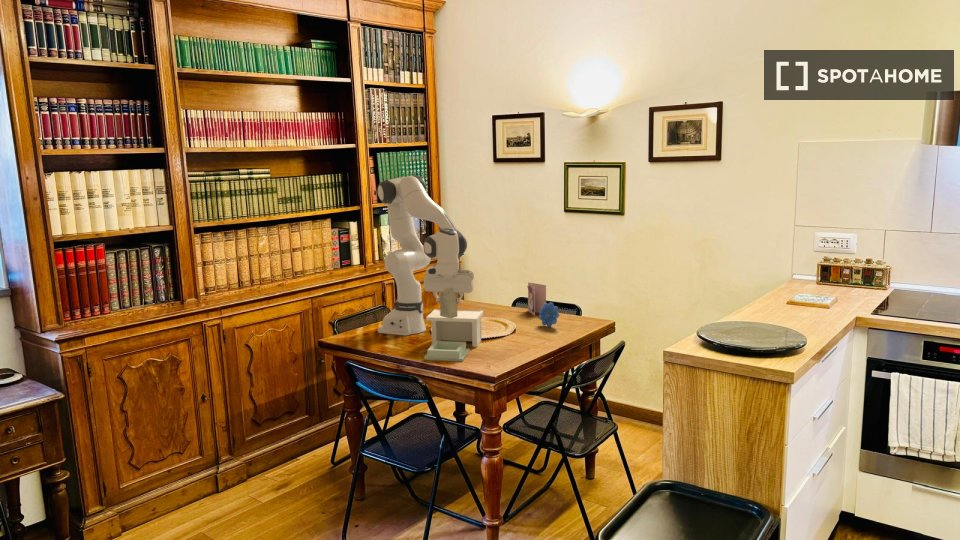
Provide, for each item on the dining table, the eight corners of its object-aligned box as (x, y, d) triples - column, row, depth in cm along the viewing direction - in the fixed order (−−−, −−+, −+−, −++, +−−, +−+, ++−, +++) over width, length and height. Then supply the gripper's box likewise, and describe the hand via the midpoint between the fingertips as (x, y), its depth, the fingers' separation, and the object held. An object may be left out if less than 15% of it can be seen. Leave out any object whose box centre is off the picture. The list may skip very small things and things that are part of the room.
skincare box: (457, 316, 280) (458, 287, 278) (450, 318, 277) (450, 289, 275) (446, 314, 284) (446, 285, 282) (439, 316, 281) (439, 287, 279)
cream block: (427, 347, 294) (426, 317, 292) (435, 338, 308) (434, 309, 305) (477, 349, 290) (477, 318, 288) (483, 340, 304) (483, 310, 301)
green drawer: (424, 359, 278) (423, 350, 278) (432, 349, 292) (432, 340, 291) (462, 361, 275) (462, 351, 275) (469, 350, 289) (469, 341, 288)
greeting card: (526, 310, 355) (526, 282, 352) (540, 309, 357) (540, 281, 354) (533, 316, 344) (533, 286, 341) (547, 315, 346) (547, 286, 343)
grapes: (564, 327, 323) (564, 302, 321) (555, 330, 318) (555, 304, 316) (544, 322, 331) (544, 298, 329) (535, 325, 326) (535, 301, 324)
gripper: (475, 268, 278) (475, 301, 281) (426, 266, 282) (426, 299, 284) (472, 271, 272) (472, 305, 275) (422, 269, 276) (422, 303, 278)
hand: (448, 302), depth 280 cm, fingers closed on skincare box, 7 cm apart
